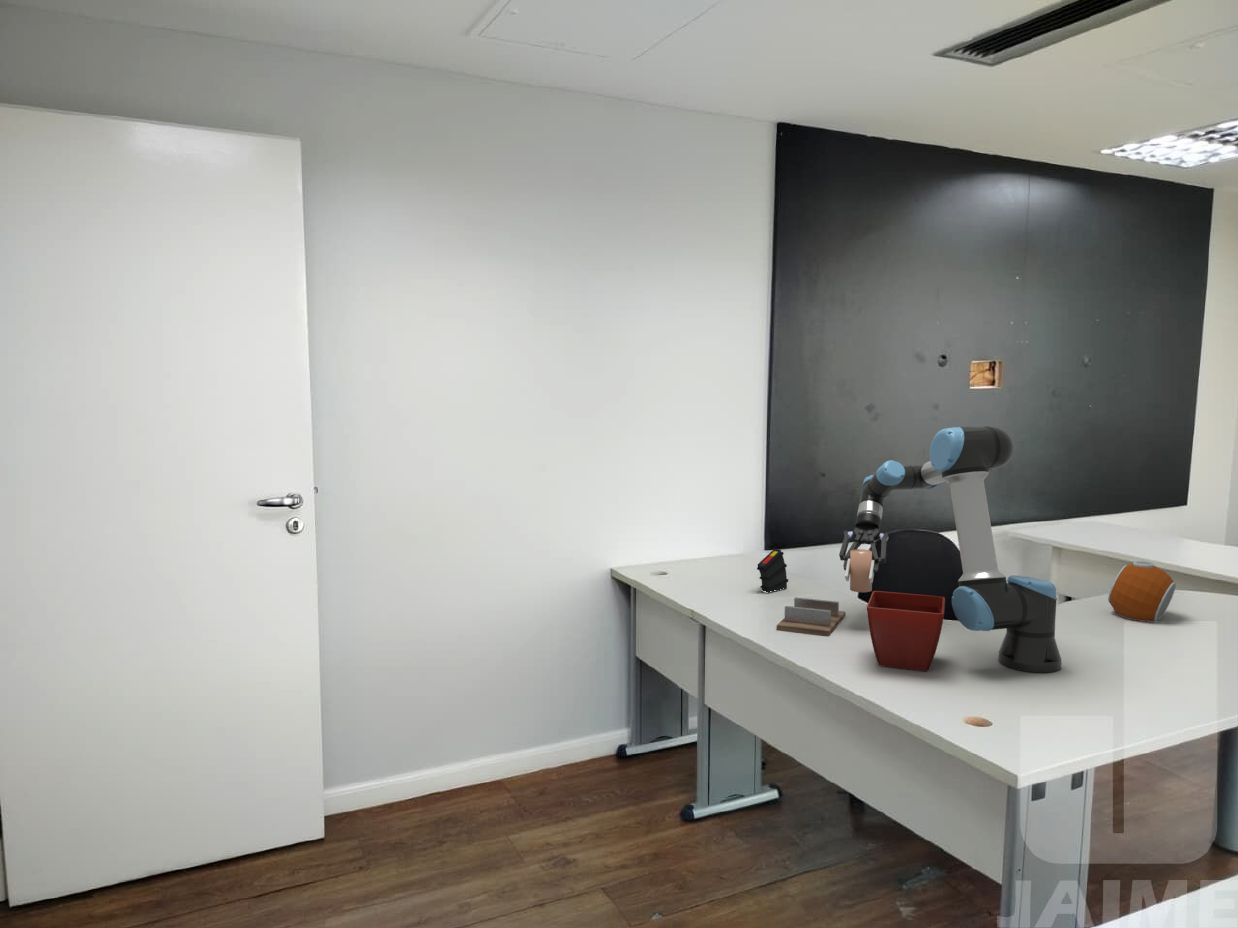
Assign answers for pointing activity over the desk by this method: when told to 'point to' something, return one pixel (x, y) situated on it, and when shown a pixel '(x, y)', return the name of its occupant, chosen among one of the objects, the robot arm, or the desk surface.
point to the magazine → (773, 571)
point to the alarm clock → (1141, 592)
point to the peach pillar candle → (860, 570)
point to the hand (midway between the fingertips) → (858, 579)
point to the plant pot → (905, 628)
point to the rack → (812, 617)
